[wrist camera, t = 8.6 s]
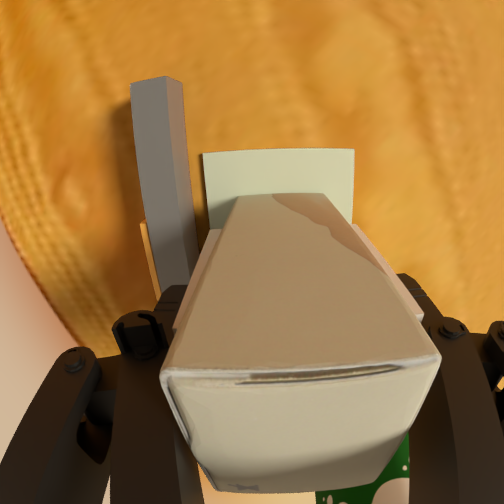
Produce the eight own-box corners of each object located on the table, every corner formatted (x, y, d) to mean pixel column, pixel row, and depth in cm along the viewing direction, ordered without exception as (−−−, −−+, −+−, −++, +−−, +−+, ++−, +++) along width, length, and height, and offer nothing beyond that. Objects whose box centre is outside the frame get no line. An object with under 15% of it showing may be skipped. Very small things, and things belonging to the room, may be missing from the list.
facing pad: (203, 152, 13) (202, 153, 13) (353, 148, 13) (354, 148, 13) (221, 313, 17) (221, 315, 17) (341, 307, 17) (342, 310, 16)
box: (323, 284, 15) (373, 488, 5) (242, 287, 16) (212, 497, 6) (325, 186, 13) (455, 358, 3) (233, 189, 14) (145, 378, 4)
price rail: (142, 89, 12) (120, 85, 9) (182, 82, 12) (166, 75, 9) (210, 429, 23) (207, 452, 21) (232, 430, 23) (230, 453, 20)
